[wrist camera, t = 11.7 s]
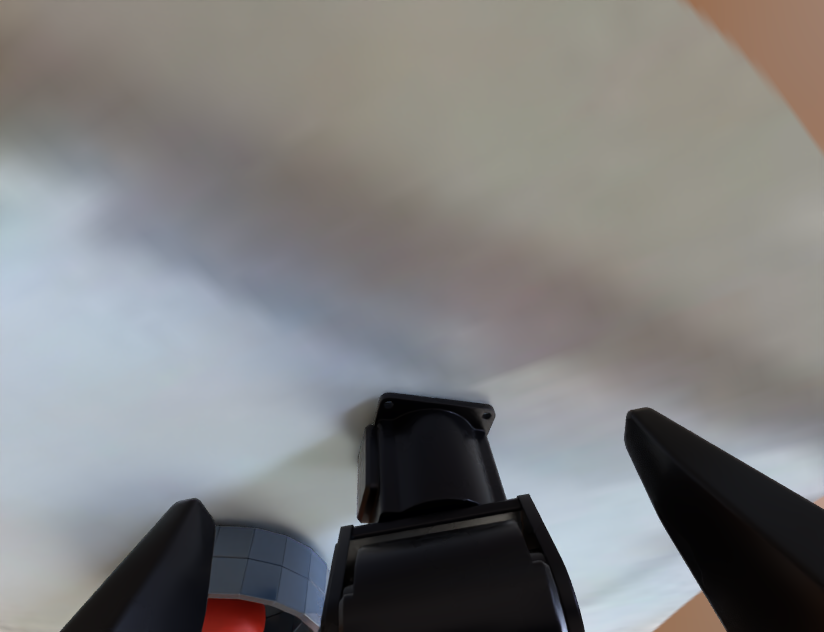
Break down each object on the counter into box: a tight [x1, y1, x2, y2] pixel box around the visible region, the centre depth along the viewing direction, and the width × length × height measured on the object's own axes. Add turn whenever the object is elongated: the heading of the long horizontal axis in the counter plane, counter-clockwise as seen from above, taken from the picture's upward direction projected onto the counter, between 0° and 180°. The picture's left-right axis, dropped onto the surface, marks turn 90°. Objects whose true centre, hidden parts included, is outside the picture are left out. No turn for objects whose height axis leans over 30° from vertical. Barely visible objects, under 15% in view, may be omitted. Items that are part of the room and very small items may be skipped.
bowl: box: [208, 525, 330, 632], centre depth 29 cm, size 13×13×4 cm
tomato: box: [202, 598, 266, 632], centre depth 28 cm, size 5×5×5 cm
